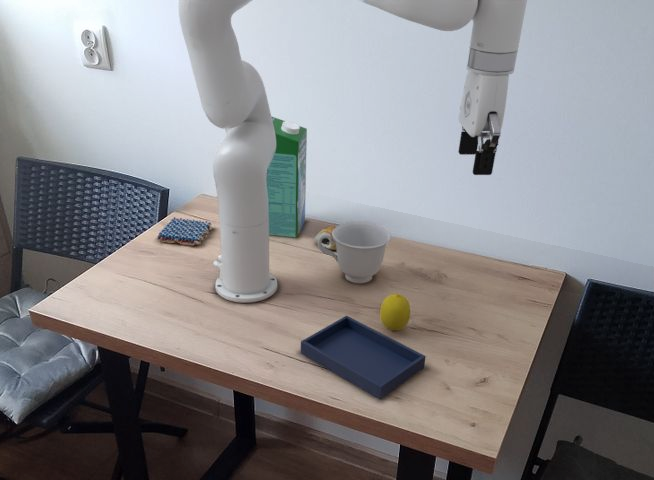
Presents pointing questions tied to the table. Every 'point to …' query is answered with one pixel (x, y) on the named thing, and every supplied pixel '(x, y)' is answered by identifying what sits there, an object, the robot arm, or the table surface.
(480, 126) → the robot arm
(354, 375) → the tray
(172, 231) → the woven mat
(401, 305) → the lemon
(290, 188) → the milk carton
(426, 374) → the table surface
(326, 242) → the pastry
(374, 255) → the teacup
